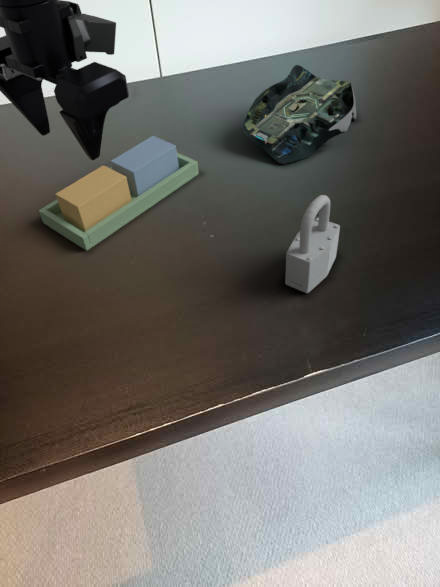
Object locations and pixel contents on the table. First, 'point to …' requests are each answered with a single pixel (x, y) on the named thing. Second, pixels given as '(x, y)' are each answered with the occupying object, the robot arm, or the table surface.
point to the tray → (123, 215)
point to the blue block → (147, 164)
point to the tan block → (94, 197)
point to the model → (300, 115)
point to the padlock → (312, 247)
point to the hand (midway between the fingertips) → (69, 145)
